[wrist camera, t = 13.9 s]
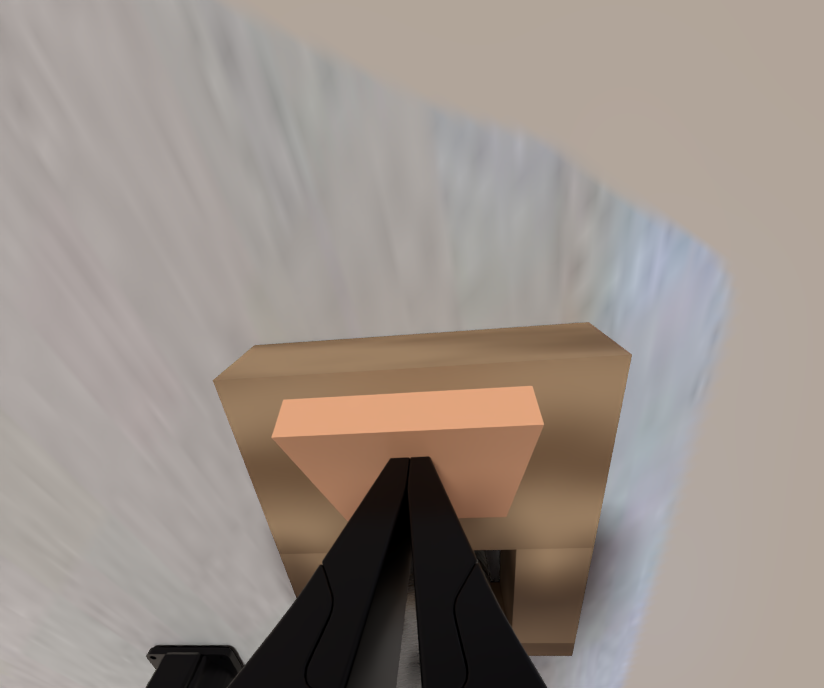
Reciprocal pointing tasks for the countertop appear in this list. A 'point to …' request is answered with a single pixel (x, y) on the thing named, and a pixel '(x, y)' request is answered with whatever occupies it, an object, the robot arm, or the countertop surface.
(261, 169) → the countertop surface
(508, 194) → the countertop surface
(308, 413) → the pink flat plate
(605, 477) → the hole plate
